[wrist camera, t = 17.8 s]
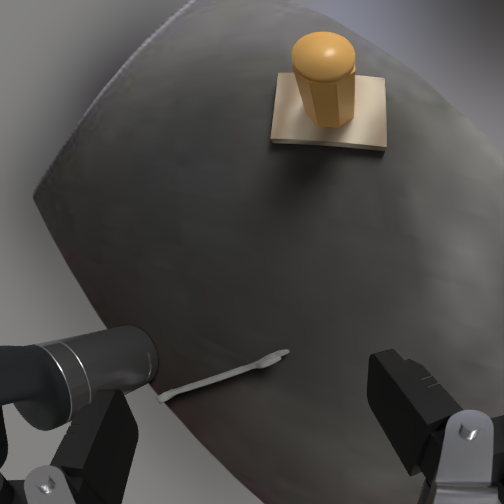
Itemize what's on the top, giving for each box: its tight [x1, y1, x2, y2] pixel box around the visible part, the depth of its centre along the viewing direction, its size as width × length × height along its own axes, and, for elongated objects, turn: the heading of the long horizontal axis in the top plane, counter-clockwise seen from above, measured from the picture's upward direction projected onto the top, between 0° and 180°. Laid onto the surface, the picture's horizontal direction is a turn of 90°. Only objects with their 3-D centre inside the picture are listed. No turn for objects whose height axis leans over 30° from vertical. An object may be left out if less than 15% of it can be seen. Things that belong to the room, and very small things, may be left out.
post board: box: [271, 73, 387, 151], centre depth 33 cm, size 14×10×8 cm
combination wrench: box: [156, 350, 289, 403], centre depth 38 cm, size 4×1×20 cm
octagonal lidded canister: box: [292, 32, 355, 128], centre depth 30 cm, size 6×6×11 cm
